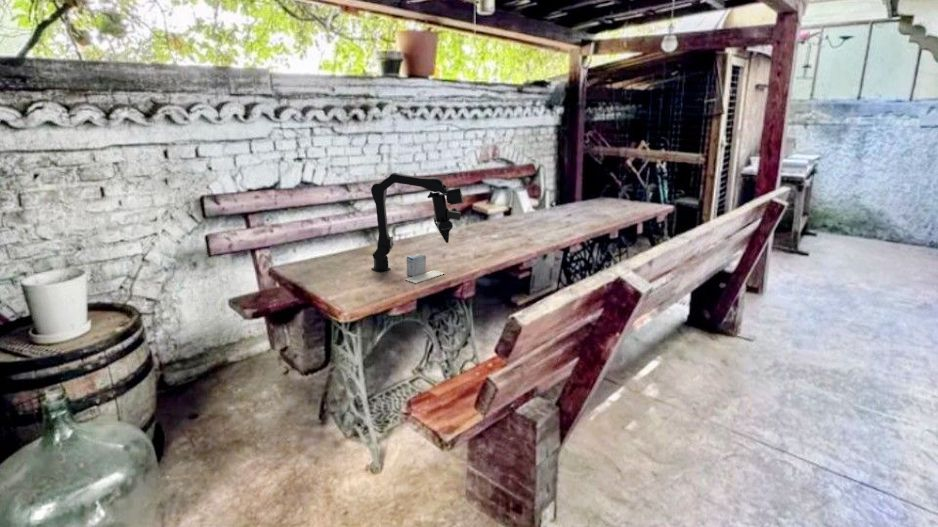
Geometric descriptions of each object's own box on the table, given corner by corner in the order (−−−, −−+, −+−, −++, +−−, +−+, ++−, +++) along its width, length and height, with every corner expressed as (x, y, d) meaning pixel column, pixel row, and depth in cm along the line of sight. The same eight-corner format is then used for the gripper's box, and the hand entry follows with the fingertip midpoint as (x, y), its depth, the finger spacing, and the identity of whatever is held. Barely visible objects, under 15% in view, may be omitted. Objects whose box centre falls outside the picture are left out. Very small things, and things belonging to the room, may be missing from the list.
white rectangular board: (404, 280, 221) (404, 279, 220) (434, 271, 234) (434, 270, 233) (415, 283, 217) (415, 282, 216) (444, 274, 229) (444, 273, 229)
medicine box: (418, 271, 233) (418, 253, 230) (426, 273, 230) (426, 255, 228) (406, 275, 227) (406, 256, 224) (413, 277, 224) (413, 258, 222)
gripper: (461, 206, 216) (467, 241, 220) (454, 199, 234) (460, 232, 238) (435, 211, 214) (441, 246, 219) (430, 204, 232) (436, 237, 237)
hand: (445, 240), depth 228 cm, fingers open, 9 cm apart
